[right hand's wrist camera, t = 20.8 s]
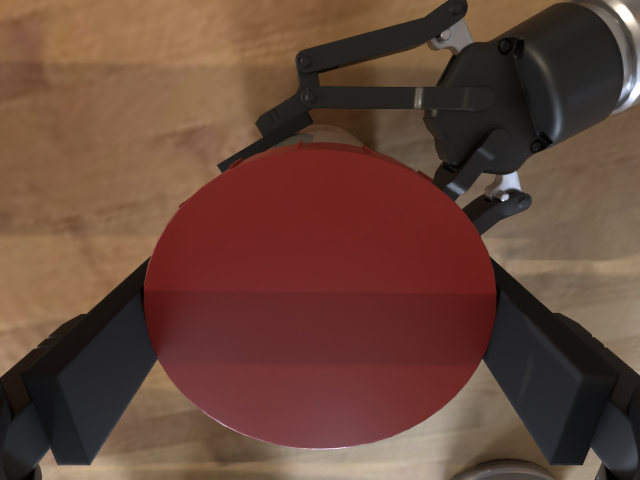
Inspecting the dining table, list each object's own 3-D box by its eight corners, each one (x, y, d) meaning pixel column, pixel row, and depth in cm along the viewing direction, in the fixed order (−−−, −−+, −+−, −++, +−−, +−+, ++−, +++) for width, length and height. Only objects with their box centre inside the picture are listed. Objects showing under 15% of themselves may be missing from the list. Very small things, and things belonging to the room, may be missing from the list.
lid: (484, 119, 10) (516, 122, 8) (464, 400, 14) (483, 439, 12) (125, 159, 10) (88, 170, 9) (207, 420, 14) (192, 461, 13)
